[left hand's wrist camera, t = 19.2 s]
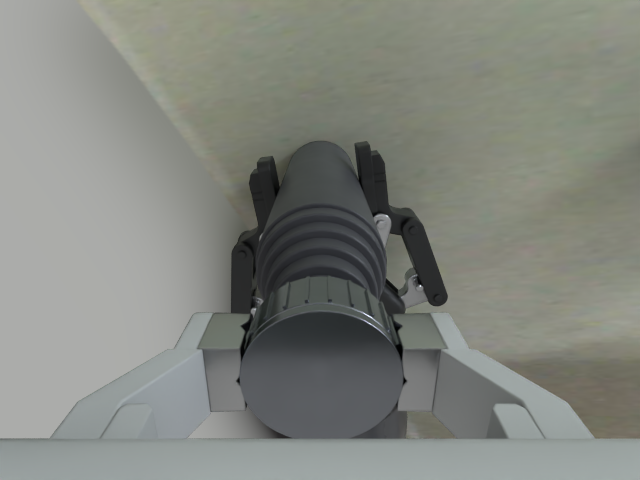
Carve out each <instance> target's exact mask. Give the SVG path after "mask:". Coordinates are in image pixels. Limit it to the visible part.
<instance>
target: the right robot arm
mask: <svg viewBox="0 0 640 480" xmlns="http://www.w3.org/2000/svg"><path fill="white" fill-rule="evenodd" d="M355 153H356V161H357V169H358V177H359V183H360V185H361V188H362V190H363V193H364V196H365V198H366V201H367V203H368V206H369V208H370V211H371V213H372V216H373V219H374V221H375V224H376V226H377V229H378V231H379V234H380V236H381V239H382V242H383V244H384V248H385V247H386V243H387V239H388V236H389V233H391V234H396V235H401V236H402V238H403V241H404V244H405V246H406V249H407V252H408V254H409V257H410V260H411V262H412V265H413V268H410V269H409V270H408V271H407V272H406V274H405V285H404V286H403V288H401V289H400V290H398V289H397V288H396V287H395V286H394V285H393V284H392V283H391V282H390V281H388V280H387V279H386V281H385V285H384V289H383V292H382V294H381V296H380V299H379V302H381V301H382V302H383V304H384V308H385V311H386V312H387V314H388V317H390V314H405V308H408V307H411V306H414V305H417V304H419V303H422V302H425V301H428V302H429V303H430V304H431V305H433V306H441V305H443V304H444V303H445V302H446V301H447V298H448V295H447V292H446V289H445V286H444V284H443V281H442V278H441V275H440V272H439V269H438V266H437V264H436V261H435V258H434V255H433V252H432V249H431V246H430V244H429V241H428V238H427V235H426V232H425V229H424V227H423V224H422V223H421V222H420V220H419V219H418V217H417V216H416V215H415V213H414V212H413V211H412V210H411V209H410V208H402V209H400V208H395V207H392V206H390V205H389V204H388V194H387V184H386V174H385V163H384V161H383V159H382V157H381V155H380V154H379V153H378V151H377V150H375V151H371V149H370V145H369V143H368V142H367V141H365V142H359V143H355ZM249 185H250V190H251V193H252V198H253V203H254V207H255V212H256V216H257V220H258V227H256V228H255V229H253V230H251V231H244V232H243V233H242V234H241V235H240V237H239V239H238V242H237V244H236V245H235V247H234V248H233V250H232V270H231V271H232V272H231V313H252V315H253V318H254V315H255V312H256V308H257V306H258V305H259V306H261V304H262V303H263V302H264V301H263V299H262V296H261V293H260V291H259V290H257V280H256V265H255V264H256V252H257V248H258V245H259V242H260V239H261V236H262V234H263V231H264V229H265V226H266V223H267V221H268V218H269V215H270V213H271V210H272V208H273V205H274V202H275V200H276V197H277V194H278V192H279V189H280V186H279V181H278V176H277V171H276V166H275V162H274V158H273V156H269V157H263V158H260V159H259V161H258V162H257V169H254V171H253V172H252V173H251V175H250V182H249ZM406 428H407V411H397V407H396V405H395V407H394V408H393V410H392V411H391V412H390V413H389V414H388V416H387V417H386V418H385V419H384V420H382V421H381V422H380V423H379V424H378V425H376V426H375V427H373V428H372V429H370V430H368V431H366V432H364V433H363V434H360V435H358V436H355V437H352V438H349V439H406Z"/></svg>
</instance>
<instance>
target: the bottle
mask: <svg viewBox="0 0 640 480" xmlns="http://www.w3.org/2000/svg"><path fill="white" fill-rule="evenodd" d="M386 261H387V259H386V251H385V248H384V244H383V242H382V239H381V236H380V234H379V231H378V229H377V226H376V224H375V221H374V219H373V216H372V213H371V211H370V208H369V206H368V203H367V201H366V198H365V196H364V193H363V190H362V188H361V185H360V183H359V180H358V178H357V175H356V173H355V170H354V167H353V165H352V162H351V160H350V158H349V156H348V155H347V154H346V152H345V151H344V150H343V149H342V148H340V147H339V146H337V145H335V144H333V143H331V142H327V141H315V142H311V143H308V144H306V145H304V146H302V147H301V148H300V149H298V150H297V151H296V153H295V154H294V155H293V157H292V158H291V160H290V163H289V165H288V168H287V171H286V173H285V176H284V179H283V181H282V184H281V186H280V189H279V192H278V194H277V197H276V200H275V202H274V205H273V208H272V210H271V213H270V215H269V218H268V221H267V223H266V226H265V229H264V231H263V234H262V236H261V239H260V242H259V245H258V248H257V252H256V264H255V265H256V280H257V285H258V289H259V291H260V293H261V296H262V299H263V301H265V299H266V298H267V297H268V296H269V293H270V292H274V291H276V290H277V289H279V288H280V287H282V286H284V285H286V283H287V282H293V281H296V280H299V279H303V278H306V277H307V276H310V277H317V276H324V277H327V276H331V277H335V278H340V279H344V280H347V281H348V280H351V281H352V283H355V284H357V285H359V286H361V287H362V288H364V289H369V291H370V293H371V294H372V295H373V296H374V297H375V298H376V299H377V300H378V301H379V299H380V296H381V294H382V292H383V289H384V285H385V281H386Z"/></svg>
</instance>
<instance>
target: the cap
mask: <svg viewBox="0 0 640 480" xmlns="http://www.w3.org/2000/svg"><path fill="white" fill-rule="evenodd" d="M398 347H399V341H398V338H397V334H396V331H395V328H394V325H393V321H392V318H391V317H388V314H387V312H386V311H385V308H384V304H383V302H382V301H381V302H379V301H378V300H377V299H376V298H375V297H374V296H373V295H372V294H371V293H370V291H369V289H364V288H362V287H361V286H359V285H357V284H355V283H352V281H351V280H348V281H347V280H344V279H340V278H335V277H331V276H327V277H324V276H317V277H310V276H307V277H306V278H303V279H299V280H296V281H293V282H287V283H286V285H284V286H282V287H280V288H279V289H277V290H276V291H274V292H270V293H269V296H268V297H267V298H266V299H265V301H264V302H263V303H262V304H261V306H259V305H258V306H257V308H256V312H255V315H254V319H253V322H252V323H251V327H250V330H249V331H247V334H246V344H245V348H244V354H243V358H242V361H241V365H240V372H239V380H240V387H241V391H242V394H243V397H244V399H245V401H246V403H247V405H248V407H249V408H250V409H251V411H252V412H253V413H254V415H255V416H256V417H257V418H258V419H259V420H261V421H262V422H263V423H264V424H266V425H267V426H268V427H270V428H271V429H273V430H275V431H276V432H279V433H281V434H283V435H285V436H288V437H291V438H294V439H349V438H352V437H355V436H358V435H360V434H363V433H364V432H366V431H368V430H370V429H372V428H373V427H375V426H376V425H378V424H379V423H380V422H381V421H382V420H384V419H385V418H386V417H387V416H388V414H389V413H390V412H391V411H392V410H393V408H394V407H395V405H396V403H397V401H398V399H399V397H400V394H401V391H402V388H403V381H404V370H403V364H402V360H401V356H400V353H399V350H398Z"/></svg>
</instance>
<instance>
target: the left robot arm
mask: <svg viewBox="0 0 640 480" xmlns="http://www.w3.org/2000/svg"><path fill="white" fill-rule="evenodd" d="M390 317H391V318H392V321H393V325H394V328H395V331H396V334H397V338H398V341H399V347H398V350H399V353H400V356H401V360H402V364H403V370H404V381H403V388H402V391H401V394H400V397H399V399H398V401H397V403H396V407H397V411H419V412H432V414H433V415H434V416H435V417H436V418H437V419H438V420H439V421H440V422H441V423H442V424H443V425H444V426H445V427H446V428H447V429H448V430H449V431H450V432H451V433H452V434H453V435H454V436H455V437H456V438H457V439H186V438H187V437H188V436H189V435H190V434H191V433H192V432H193V431H194V430H195V429H196V428H197V427H198V426H199V425H200V424H201V423H202V422H203V421H204V420H205V419H206V418H207V417H208V416H209V415H210V414H211V413H210V412H224V411H246V407H247V403H246V401H245V399H244V397H243V394H242V391H241V387H240V380H239V372H240V365H241V361H242V358H243V354H244V348H245V344H246V334H247V331H249V330H250V327H251V323H252V322H253V319H254V318H253V315H252V313H212V312H211V313H194V314H193V315H192V317H191V319H190V321H189V322H188V324H187V326H186V328H185V330H184V331H183V333H182V335H181V337H180V338H179V340H178V342H177V344H176V346H175V348H174V349H167V350H166V351H164V352H162V353H160V354H159V355H157V356H155V357H154V358H152V359H150V360H149V361H147V362H145V363H143V364H142V365H140V366H138V367H136V368H135V369H133V370H131V371H130V372H128V373H126V374H125V375H123V376H121V377H119V378H118V379H116V380H114V381H112V382H111V383H109V384H107V385H106V386H104V387H102V388H100V389H99V390H97V391H95V392H94V393H92V394H90V395H88V396H87V397H85V398H83V399H82V400H80V401H78V402H77V403H76V405H75V406H74V407H73V408H72V410H71V411H70V412H69V414H68V415H67V416H66V418H65V419H64V420H63V421H62V423H61V424H60V426H59V427H58V428H57V429H56V431H55V432H54V433H53V435H52V436H51V437H50V438H49V439H0V480H640V439H595V438H594V436H593V435H592V434H591V433H590V431H589V430H588V429H587V427H586V426H585V425H584V423H583V422H582V421H581V420H580V418H579V417H578V416H577V414H576V413H575V412H574V411H573V409H572V408H571V407H570V405H569V404H568V403H567V402H566V401H564V400H562V399H560V398H559V397H557V396H555V395H554V394H552V393H550V392H548V391H547V390H545V389H543V388H541V387H540V386H538V385H536V384H535V383H533V382H531V381H529V380H528V379H526V378H524V377H523V376H521V375H519V374H517V373H516V372H514V371H512V370H510V369H509V368H507V367H505V366H504V365H502V364H500V363H498V362H497V361H495V360H493V359H491V358H490V357H488V356H486V355H485V354H483V353H481V352H479V351H478V350H476V349H469V347H468V345H467V344H466V342H465V340H464V338H463V337H462V335H461V333H460V331H459V330H458V328H457V326H456V324H455V323H454V321H453V319H452V317H451V316H450V314H449V313H447V312H442V313H411V314H390Z"/></svg>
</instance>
